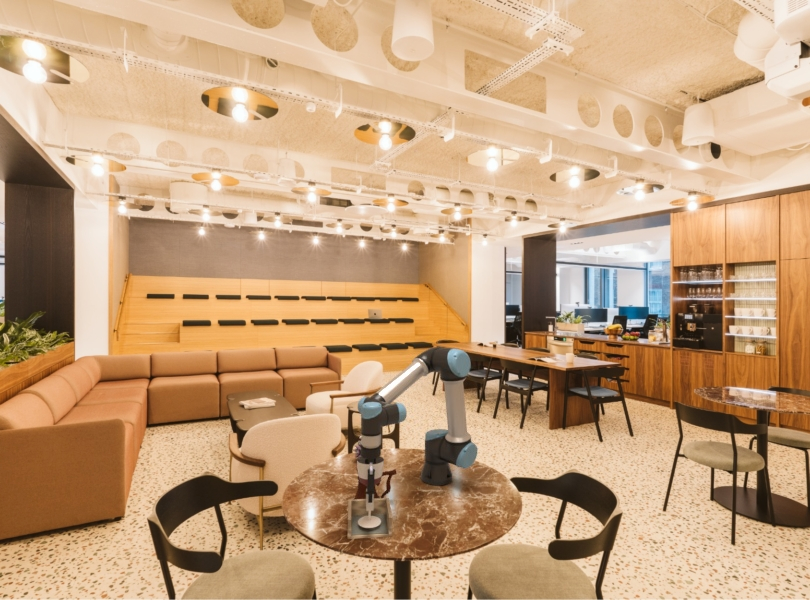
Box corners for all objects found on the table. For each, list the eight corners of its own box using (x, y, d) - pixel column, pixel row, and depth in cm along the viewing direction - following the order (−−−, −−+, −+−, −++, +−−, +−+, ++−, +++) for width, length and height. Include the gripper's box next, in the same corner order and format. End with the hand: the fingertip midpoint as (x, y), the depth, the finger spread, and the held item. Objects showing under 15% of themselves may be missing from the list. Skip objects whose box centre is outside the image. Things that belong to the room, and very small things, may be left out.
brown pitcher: (395, 497, 178) (396, 462, 178) (396, 510, 166) (397, 473, 167) (353, 498, 177) (354, 463, 177) (352, 511, 165) (352, 474, 165)
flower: (350, 465, 212) (350, 442, 212) (356, 457, 224) (357, 435, 224) (372, 467, 210) (372, 444, 210) (377, 458, 222) (377, 436, 222)
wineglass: (356, 515, 157) (357, 455, 157) (382, 514, 158) (383, 454, 158) (355, 528, 148) (356, 464, 148) (383, 527, 149) (384, 464, 149)
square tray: (388, 515, 163) (388, 497, 163) (392, 536, 148) (392, 517, 148) (347, 517, 161) (348, 499, 161) (347, 539, 146) (347, 519, 146)
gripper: (360, 438, 160) (359, 498, 160) (361, 452, 145) (360, 519, 145) (379, 437, 161) (378, 498, 161) (382, 452, 146) (381, 518, 146)
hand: (369, 508), depth 153 cm, fingers open, 2 cm apart
